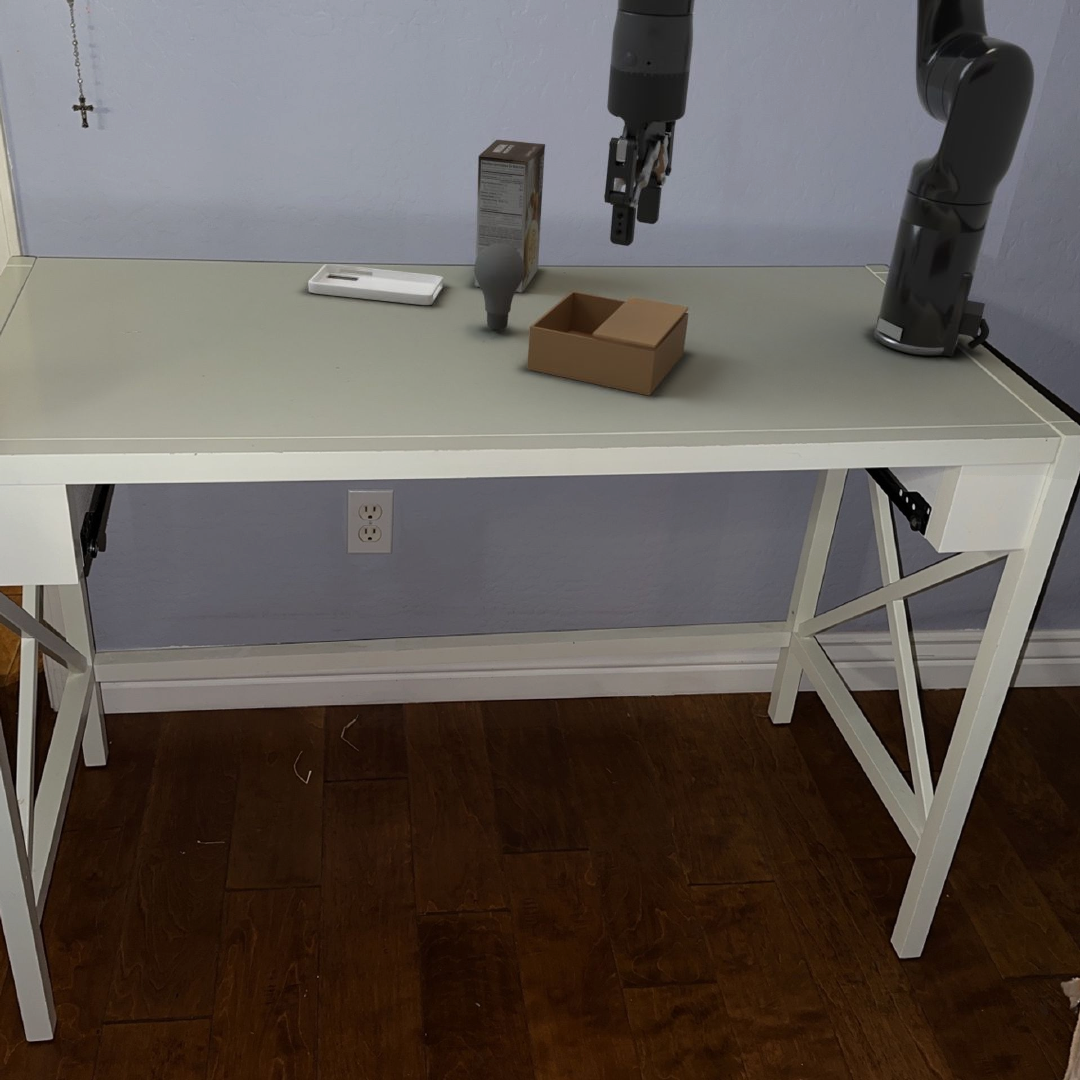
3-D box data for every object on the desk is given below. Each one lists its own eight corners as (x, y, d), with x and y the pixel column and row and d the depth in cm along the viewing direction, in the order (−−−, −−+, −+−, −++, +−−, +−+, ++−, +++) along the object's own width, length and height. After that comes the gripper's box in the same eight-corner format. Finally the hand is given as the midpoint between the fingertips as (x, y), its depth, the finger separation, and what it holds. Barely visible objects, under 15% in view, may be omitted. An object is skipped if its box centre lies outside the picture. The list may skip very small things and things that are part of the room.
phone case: (307, 293, 138) (430, 306, 137) (306, 282, 138) (430, 295, 136) (325, 273, 145) (443, 286, 143) (325, 263, 144) (444, 275, 143)
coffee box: (490, 264, 151) (495, 137, 143) (538, 270, 150) (546, 143, 142) (473, 287, 144) (477, 154, 135) (523, 293, 143) (531, 160, 134)
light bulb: (492, 344, 128) (495, 255, 123) (462, 328, 132) (464, 241, 127) (531, 334, 131) (536, 247, 126) (501, 319, 135) (505, 234, 130)
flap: (688, 309, 126) (688, 306, 126) (654, 348, 116) (655, 345, 116) (630, 299, 128) (630, 296, 128) (592, 335, 118) (592, 333, 118)
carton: (683, 354, 129) (688, 313, 127) (649, 395, 119) (655, 352, 117) (569, 331, 133) (572, 290, 131) (527, 369, 123) (529, 326, 120)
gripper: (667, 79, 103) (649, 258, 111) (708, 56, 114) (689, 220, 123) (587, 69, 105) (575, 245, 114) (635, 48, 116) (621, 210, 125)
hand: (634, 232), depth 118 cm, fingers open, 8 cm apart
